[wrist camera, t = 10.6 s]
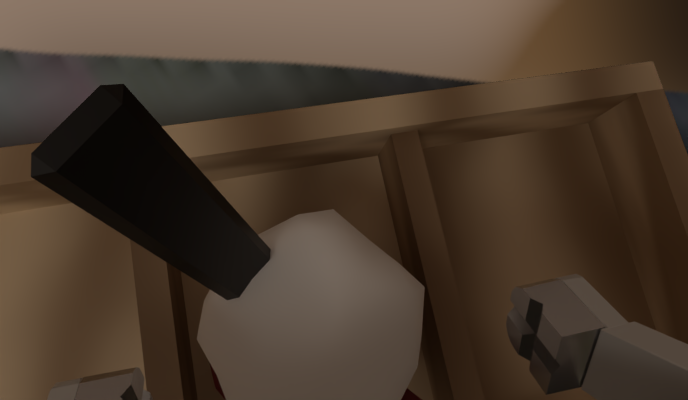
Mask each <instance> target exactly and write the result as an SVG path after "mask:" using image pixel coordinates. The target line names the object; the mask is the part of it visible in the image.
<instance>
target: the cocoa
mask: <svg viewBox="0 0 688 400" xmlns="http://www.w3.org/2000/svg"><path fill="white" fill-rule="evenodd" d="M31 177H32V178H33V179H35V180H37V181H38V182H40V183H41V184H43V185H44V186H46V187H48V188H49V189H51V190H52V191H54V192H56V193H57V194H59V195H60V196H62V197H64V198H65V199H67V200H68V201H70V202H72V203H73V204H75V205H76V206H78V207H79V208H81V209H83V210H84V211H86V212H87V213H89V214H91V215H92V216H94V217H95V218H97V219H99V220H100V221H102V222H103V223H105V224H107V225H108V226H110V227H111V228H113V229H115V230H116V231H118V232H119V233H121V234H122V235H124V236H126V237H127V238H129V239H130V240H132V241H134V242H135V243H137V244H138V245H140V246H142V247H143V248H145V249H146V250H148V251H150V252H151V253H153V254H154V255H156V256H157V257H159V258H161V259H162V260H164V261H165V262H167V263H169V264H170V265H172V266H173V267H175V268H177V269H178V270H180V271H181V272H183V273H185V274H186V275H188V276H189V277H191V278H193V279H194V280H196V281H197V282H199V283H200V284H202V285H204V286H205V287H207V288H208V289H210V290H209V292H208V294H207V296H206V298H205V300H204V303H203V308H202V313H201V319H200V324H199V329H198V334H197V341H198V343H199V344H200V346H201V348H202V350H203V352H204V353H205V355H206V357H207V359H208V361H209V363H210V368H211V372H212V376H213V381H214V385H215V388H216V390H217V391H218V392H219V393H220V394H221V396H222V397H223V398H224V399H225V400H422V399H421V398H419V397H418V396H417V395H415V394H414V393H413V392H412V391H410V390H409V389H408V388H407V387H408V385H409V383H410V381H411V379H412V377H413V375H414V373H415V371H416V369H417V367H418V360H419V352H420V344H421V336H422V322H423V306H424V290H425V287H424V286H423V285H422V284H421V283H420V282H419V281H418V280H417V279H415V278H414V277H413V276H412V275H411V274H410V273H409V272H408V271H407V270H406V269H405V268H404V267H403V266H401V265H400V264H399V263H398V262H397V261H395V260H394V259H393V258H391V257H390V256H389V255H388V254H386V253H385V252H384V251H383V250H381V249H380V248H379V247H378V246H376V245H375V244H374V243H373V242H371V241H370V240H369V239H367V238H366V237H365V236H364V235H363V234H362V233H360V232H359V231H358V230H357V229H356V228H355V227H353V226H352V225H351V224H350V223H349V222H348V221H347V220H345V219H344V218H343V217H342V216H341V215H340V214H338V213H337V212H336V211H335V210H334V209H331V210H324V211H318V212H311V213H304V214H298V215H296V216H294V217H292V218H290V219H288V220H286V221H284V222H282V223H280V224H278V225H276V226H274V227H272V228H270V229H268V230H266V231H264V232H262V233H260V234H258V235H257V233H256V232H255V231H254V230H253V229H252V228H251V227H250V226H249V224H248V223H247V222H246V221H245V220H244V219H243V218H242V217H241V215H240V214H239V213H238V212H237V211H236V210H235V209H234V208H233V206H232V205H231V204H230V203H229V202H228V201H227V200H226V199H225V197H224V196H223V195H222V194H221V193H220V192H219V191H218V190H217V188H216V187H215V186H214V185H213V184H212V183H211V182H210V181H209V179H208V178H207V177H206V176H205V175H204V174H203V173H202V172H201V170H200V169H199V168H198V167H197V166H196V165H195V164H194V163H193V161H192V160H191V159H190V158H189V157H188V156H187V155H186V154H185V152H184V151H183V150H182V149H181V148H180V147H179V146H178V145H177V143H176V142H175V141H174V140H173V139H172V138H171V137H170V136H169V134H168V133H167V132H166V131H165V130H164V129H163V128H162V127H161V125H160V124H159V123H158V122H157V121H156V120H155V119H154V118H153V116H152V115H151V114H150V113H149V112H148V111H147V110H146V109H145V107H144V106H143V105H142V104H141V103H140V102H139V101H138V100H137V98H136V97H135V96H134V95H133V94H132V93H131V92H130V91H129V90H128V88H127V87H126V86H125V85H124V84H116V85H100V86H99V87H98V88H97V89H96V90H95V91H94V92H93V93H92V94H91V95H90V96H89V97H88V98H87V99H86V100H85V101H84V102H83V103H82V104H81V105H80V106H79V107H78V108H77V109H76V110H75V111H74V112H73V113H72V114H71V115H70V116H69V117H68V118H67V119H66V120H65V121H64V122H63V123H62V124H61V125H60V126H59V127H57V128H56V129H55V130H54V131H53V132H52V133H51V134H50V135H49V136H48V137H47V138H46V139H45V140H44V141H43V142H42V143H41V144H40V145H39V146H38V147H37V148H36V149H35V150H34V151H33V152H32V153H31Z"/></svg>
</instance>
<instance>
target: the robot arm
mask: <svg viewBox="0 0 688 400" xmlns="http://www.w3.org/2000/svg"><path fill="white" fill-rule="evenodd" d="M510 300H511V302H512V303H513V304H514V307H513V308H512V310H511V311H510V312H509V313H508V314H507V322H506V327H507V333H508V337H509V339H510V342H511V344H512V346H513V347H514V349H515V351H516V352H517V354H518V355H520V356H522V357H524V358H525V359H527V360H529V361H530V364H529V371H530V373H531V374H532V376H533V377H534V378H535V380H536V381H537V383H538V384H539V386H540V387H541V389H542V390H543V391H544V393H545V394H546V395H548V394H552V393H557V392H561V391H566V390H570V389H575V388H579V387H582V388H581V389H582V390H583V391H585V392H586V393H588V394H589V395H591V396H592V397H594V398H595V399H597V400H688V344H686V343H684V342H681V341H679V340H677V339H674V338H672V337H670V336H667V335H665V334H663V333H660V332H658V331H656V330H653V329H651V328H649V327H646V326H644V325H642V324H639V323H637V322H635V321H634V322H629V323H628V322H627V321H626V320H625V319H624V318H623V317H622V316H621V315H620V314H619V313H618V312H617V311H616V310H615V309H614V308H613V307H612V306H611V305H610V304H609V303H608V302H607V301H606V300H605V299H604V298H603V297H602V296H601V295H600V294H599V293H598V292H597V291H596V290H595V289H594V288H593V287H592V286H591V285H590V284H589V283H588V282H587V281H586V280H585V279H584V278H583V277H582V276H580V275H578V274H572V275H567V276H563V277H558V278H555V279H548V280H544V281H539V282H535V283H530V284H526V285H521V286H517V287H515V288H514V289H513V291H512V293H511V298H510ZM144 379H145V378H144V376H143V374H142V372H141V370H140V368H138V367H135V368H130V369H124V370H119V371H113V372H108V373H103V374H97V375H92V376H87V377H83V378H78V379H73V380H67V381H62V382H57V383H55V385H54V386H53V387H52V389H51V390H50V392H49V395H48V398H47V400H153V398H152V396H151V393H150V392H148V391H146V390H144V389H143V387H144Z"/></svg>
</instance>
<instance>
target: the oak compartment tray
mask: <svg viewBox="0 0 688 400" xmlns="http://www.w3.org/2000/svg"><path fill="white" fill-rule="evenodd" d="M161 127H162V128H163V129H164V130H165V131H166V132H167V133H168V134H169V136H170V137H171V138H172V139H173V140H174V141H175V142H176V143H177V145H178V146H179V147H180V148H181V149H182V150H183V151H184V152H185V154H186V155H187V156H188V157H189V158H190V159H191V160H192V161H193V163H194V164H195V165H196V166H197V167H198V168H199V169H200V170H201V172H202V173H203V174H204V175H205V176H206V177H207V178H208V179H209V181H210V182H211V183H212V184H213V185H214V186H215V187H216V188H217V190H218V191H219V192H220V193H221V194H222V195H223V196H224V197H225V199H226V200H227V201H228V202H229V203H230V204H231V205H232V206H233V208H234V209H235V210H236V211H237V212H238V213H239V214H240V215H241V217H242V218H243V219H244V220H245V221H246V222H247V223H248V224H249V226H250V227H251V228H252V229H253V230H254V231H255V232H256V233H257V235H258V234H260V233H262V232H264V231H266V230H268V229H270V228H272V227H274V226H276V225H278V224H280V223H282V222H284V221H286V220H288V219H290V218H292V217H294V216H296V215H298V214H304V213H311V212H318V211H324V210H331V209H334V210H335V211H336V212H337V213H338V214H340V215H341V216H342V217H343V218H344V219H345V220H347V221H348V222H349V223H350V224H351V225H352V226H353V227H355V228H356V229H357V230H358V231H359V232H360V233H362V234H363V235H364V236H365V237H366V238H367V239H369V240H370V241H371V242H373V243H374V244H375V245H376V246H378V247H379V248H380V249H381V250H383V251H384V252H385V253H386V254H388V255H389V256H390V257H391V258H393V259H394V260H395V261H397V262H398V263H399V264H400V265H401V266H403V267H404V268H405V269H406V270H407V271H408V272H409V273H410V274H411V275H412V276H413V277H414V278H415V279H417V280H418V281H419V282H420V283H421V284H422V285H423V286H424V287H425V290H424V306H423V322H422V336H421V344H420V352H419V360H418V367H417V369H416V371H415V373H414V375H413V377H412V379H411V381H410V383H409V385H408V387H407V388H408V389H409V390H410V391H412V392H413V393H414V394H415V395H417V396H418V397H419V398H421V399H422V400H597V399H595V398H594V397H592V396H591V395H589V394H588V393H586V392H585V391H583V390H582V389H581V388H582V387H579V388H575V389H570V390H566V391H561V392H557V393H552V394H548V395H546V394H545V393H544V391H543V390H542V389H541V387H540V386H539V384H538V383H537V381H536V380H535V378H534V377H533V376H532V374H531V373H530V371H529V364H530V361H529V360H527V359H525V358H524V357H522V356H520V355H518V354H517V352H516V351H515V349H514V347H513V346H512V344H511V342H510V339H509V337H508V333H507V327H506V322H507V314H508V313H509V312H510V311H511V310H512V308H513V307H514V304H513V303H512V302H511V300H510V298H511V293H512V291H513V289H514V288H515V287H517V286H521V285H526V284H530V283H535V282H539V281H544V280H548V279H555V278H558V277H563V276H567V275H572V274H578V275H580V276H582V277H583V278H584V279H585V280H586V281H587V282H588V283H589V284H590V285H591V286H592V287H593V288H594V289H595V290H596V291H597V292H598V293H599V294H600V295H601V296H602V297H603V298H604V299H605V300H606V301H607V302H608V303H609V304H610V305H611V306H612V307H613V308H614V309H615V310H616V311H617V312H618V313H619V314H620V315H621V316H622V317H623V318H624V319H625V320H626V321H627V322H628V323H629V322H634V321H635V322H637V323H639V324H642V325H644V326H646V327H649V328H651V329H653V330H656V331H658V332H660V333H663V334H665V335H667V336H670V337H672V338H674V339H677V340H679V341H681V342H684V343H686V344H688V155H687V152H686V149H685V146H684V144H683V141H682V138H681V136H680V133H679V130H678V127H677V125H676V122H675V119H674V117H673V114H672V111H671V108H670V106H669V103H668V100H667V98H666V95H665V92H664V89H663V87H662V85H661V81H660V79H659V76H658V73H657V70H656V68H655V65H654V62H653V61H649V62H641V63H634V64H626V65H619V66H611V67H604V68H596V69H590V70H581V71H574V72H566V73H559V74H552V75H544V76H536V77H529V78H521V79H514V80H507V81H499V82H491V83H483V84H476V85H468V86H461V87H453V88H446V89H438V90H431V91H423V92H416V93H408V94H401V95H393V96H386V97H378V98H371V99H363V100H356V101H348V102H341V103H333V104H326V105H318V106H311V107H303V108H296V109H288V110H281V111H273V112H266V113H258V114H251V115H243V116H236V117H228V118H221V119H213V120H206V121H198V122H191V123H183V124H176V125H168V126H161ZM41 143H42V142H41ZM41 143H33V144H26V145H18V146H11V147H3V148H0V400H47V398H48V395H49V392H50V390H51V389H52V387H53V386H54V385H55V383H57V382H62V381H67V380H73V379H78V378H83V377H87V376H92V375H97V374H103V373H108V372H113V371H119V370H124V369H130V368H135V367H138V368H140V370H141V372H142V374H143V376H144V378H145V379H144V387H143V389H144V390H146V391H148V392H150V393H151V396H152V398H153V400H225V399H224V398H223V397H222V396H221V394H220V393H219V392H218V391H217V390H216V388H215V385H214V381H213V376H212V372H211V368H210V363H209V361H208V359H207V357H206V355H205V353H204V352H203V350H202V348H201V346H200V344H199V343H198V341H197V334H198V329H199V324H200V319H201V313H202V308H203V303H204V300H205V298H206V296H207V294H208V292H209V290H210V289H208V288H207V287H205V286H204V285H202V284H200V283H199V282H197V281H196V280H194V279H193V278H191V277H189V276H188V275H186V274H185V273H183V272H181V271H180V270H178V269H177V268H175V267H173V266H172V265H170V264H169V263H167V262H165V261H164V260H162V259H161V258H159V257H157V256H156V255H154V254H153V253H151V252H150V251H148V250H146V249H145V248H143V247H142V246H140V245H138V244H137V243H135V242H134V241H132V240H130V239H129V238H127V237H126V236H124V235H122V234H121V233H119V232H118V231H116V230H115V229H113V228H111V227H110V226H108V225H107V224H105V223H103V222H102V221H100V220H99V219H97V218H95V217H94V216H92V215H91V214H89V213H87V212H86V211H84V210H83V209H81V208H79V207H78V206H76V205H75V204H73V203H72V202H70V201H68V200H67V199H65V198H64V197H62V196H60V195H59V194H57V193H56V192H54V191H52V190H51V189H49V188H48V187H46V186H44V185H43V184H41V183H40V182H38V181H37V180H35V179H33V178H32V177H31V153H32V152H33V151H34V150H35V149H36V148H37V147H38V146H39V145H40V144H41Z"/></svg>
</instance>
